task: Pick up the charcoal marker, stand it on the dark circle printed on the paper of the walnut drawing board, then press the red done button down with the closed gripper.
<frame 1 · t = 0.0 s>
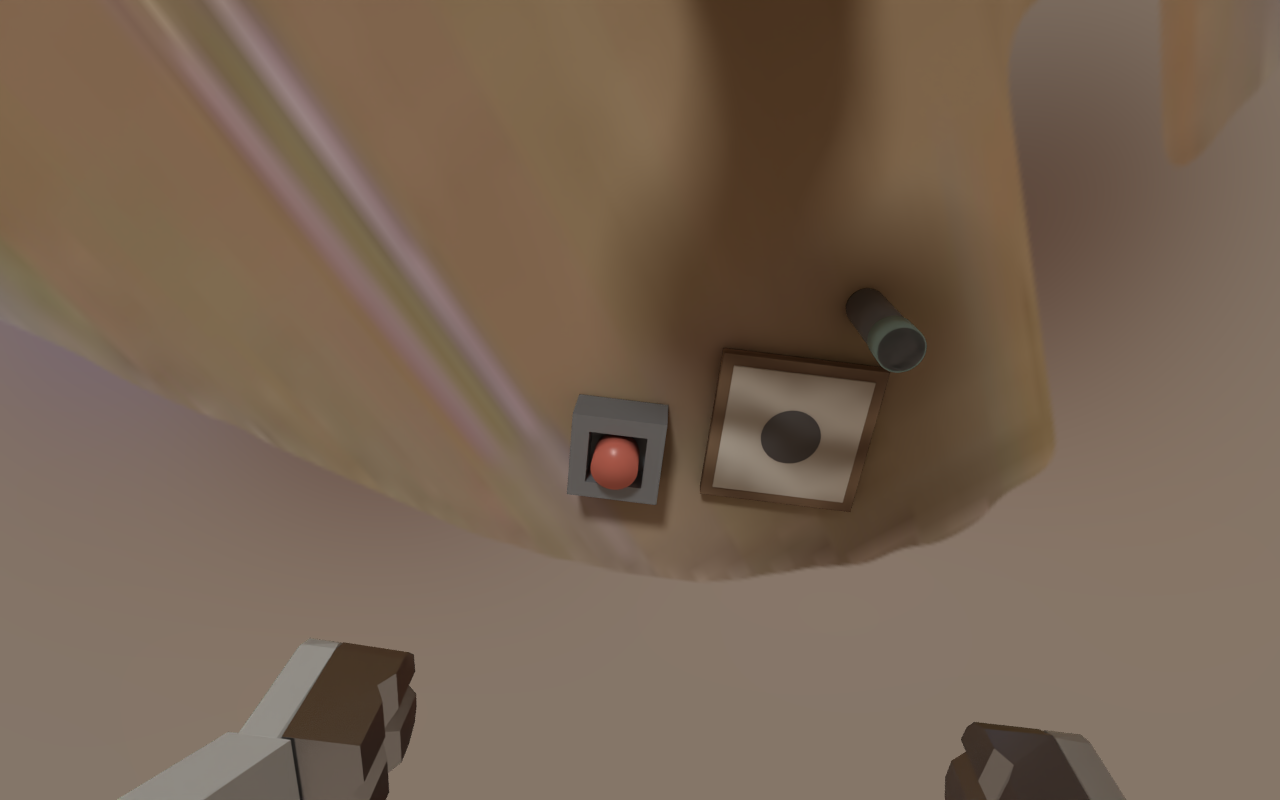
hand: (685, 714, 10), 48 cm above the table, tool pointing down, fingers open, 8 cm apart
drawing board: (788, 430, 61), on the table
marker: (865, 307, 56), on the table
done button: (615, 460, 59), point 4 cm above the table, slide at 0.0 cm
button housing: (619, 439, 62), on the table
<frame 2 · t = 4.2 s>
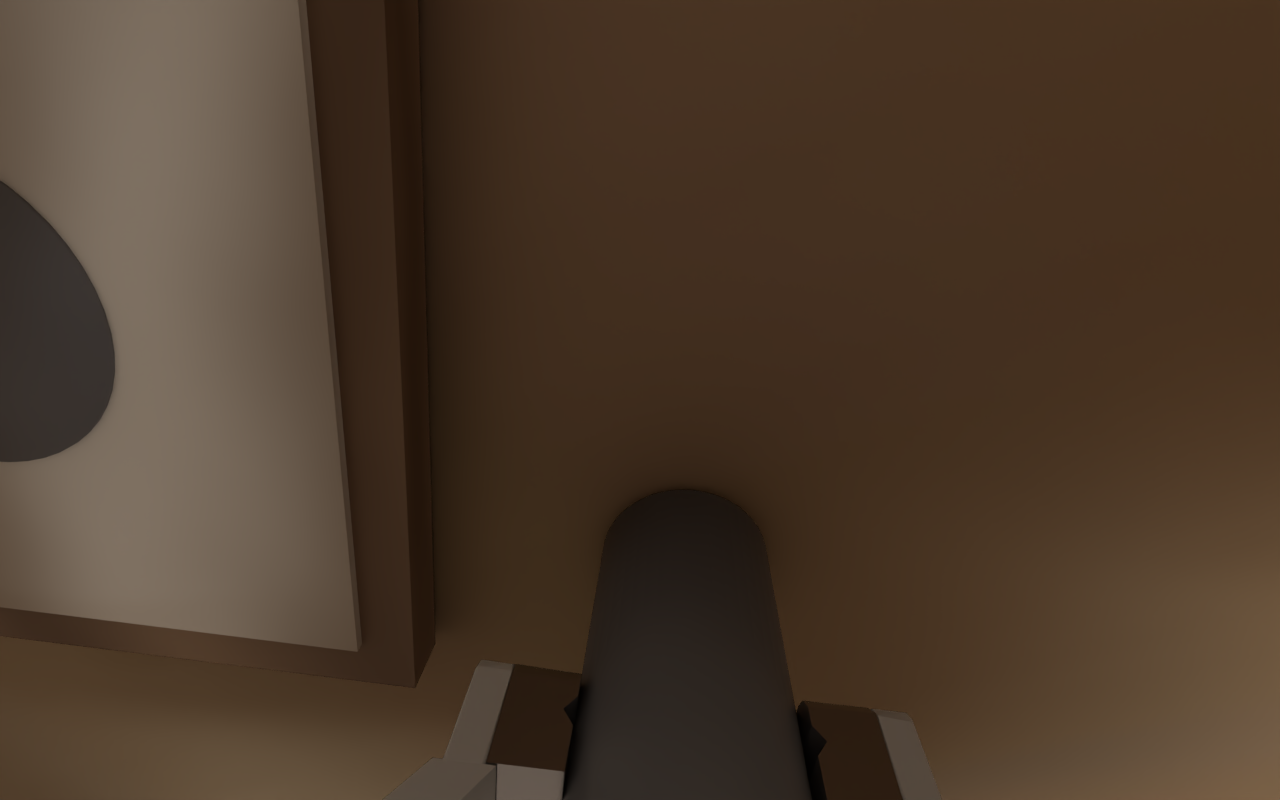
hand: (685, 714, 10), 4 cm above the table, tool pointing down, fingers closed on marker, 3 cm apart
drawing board: (24, 287, 12), on the table
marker: (684, 559, 13), on the table, touching gripper
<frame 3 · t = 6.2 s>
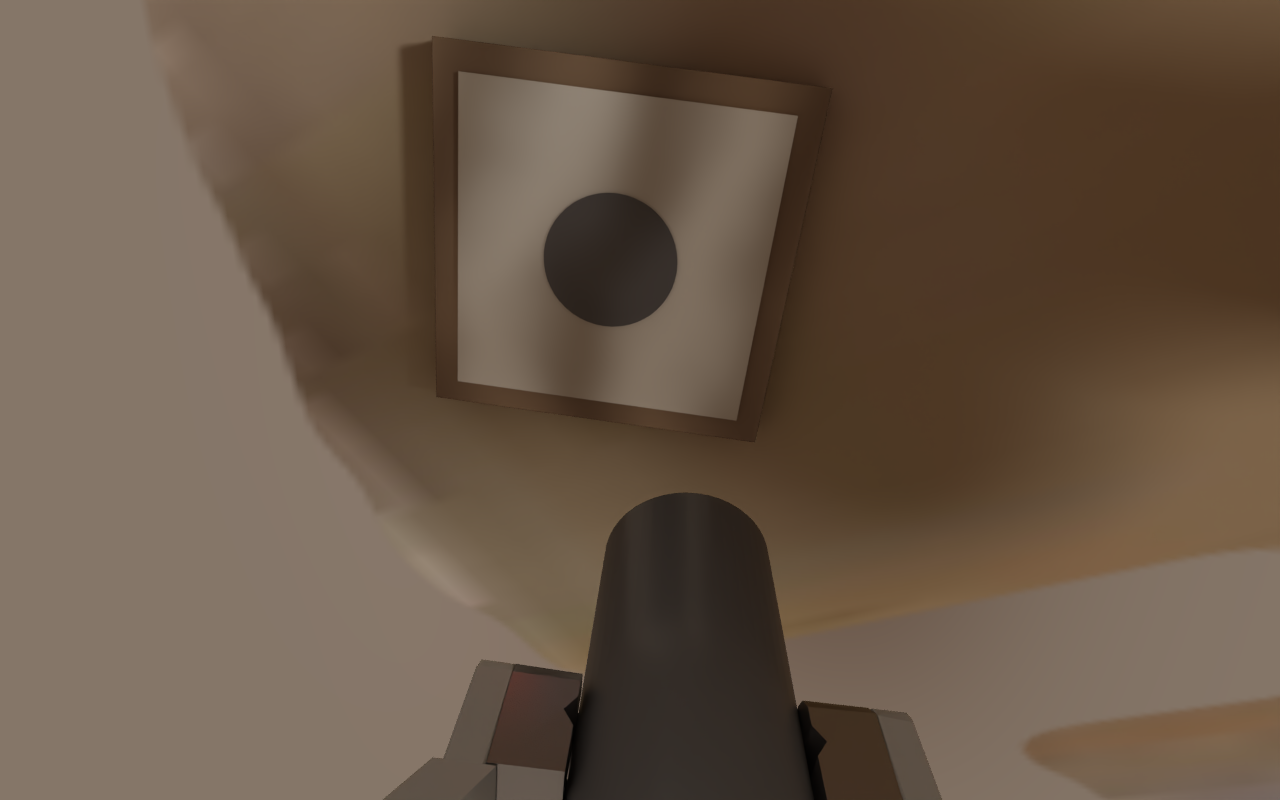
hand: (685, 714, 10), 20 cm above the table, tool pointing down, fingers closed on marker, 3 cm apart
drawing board: (614, 253, 28), on the table
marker: (686, 562, 13), point 17 cm above the table, touching gripper
when the fingers open (6 cm above the table, at t = 8.5 s): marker stays where it is, resting on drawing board.
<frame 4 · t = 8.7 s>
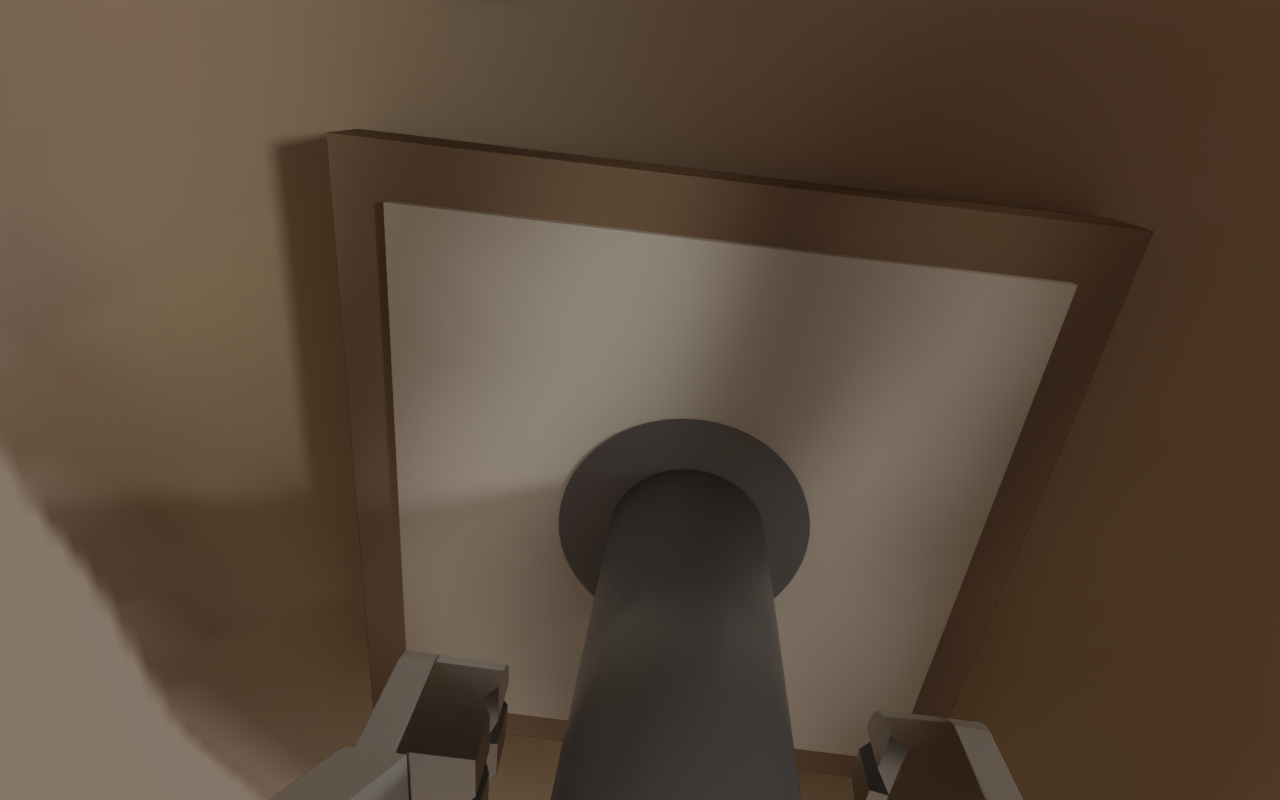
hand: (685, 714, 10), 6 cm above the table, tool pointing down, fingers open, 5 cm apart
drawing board: (682, 494, 15), on the table
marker: (686, 536, 14), point 2 cm above the table, touching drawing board
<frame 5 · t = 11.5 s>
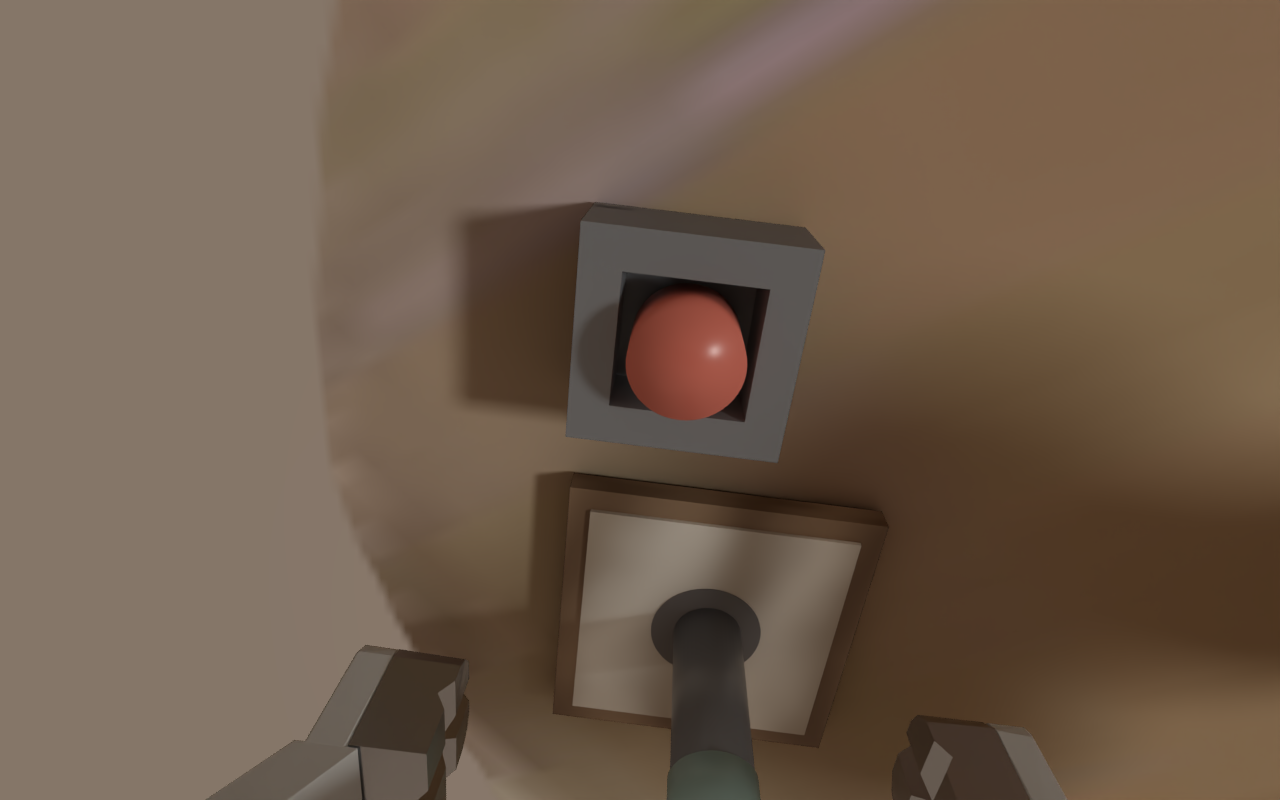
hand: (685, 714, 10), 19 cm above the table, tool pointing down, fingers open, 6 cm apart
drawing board: (704, 611, 34), on the table
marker: (707, 634, 32), point 1 cm above the table, touching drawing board
done button: (686, 350, 24), point 4 cm above the table, slide at 0.0 cm
button housing: (685, 315, 27), on the table
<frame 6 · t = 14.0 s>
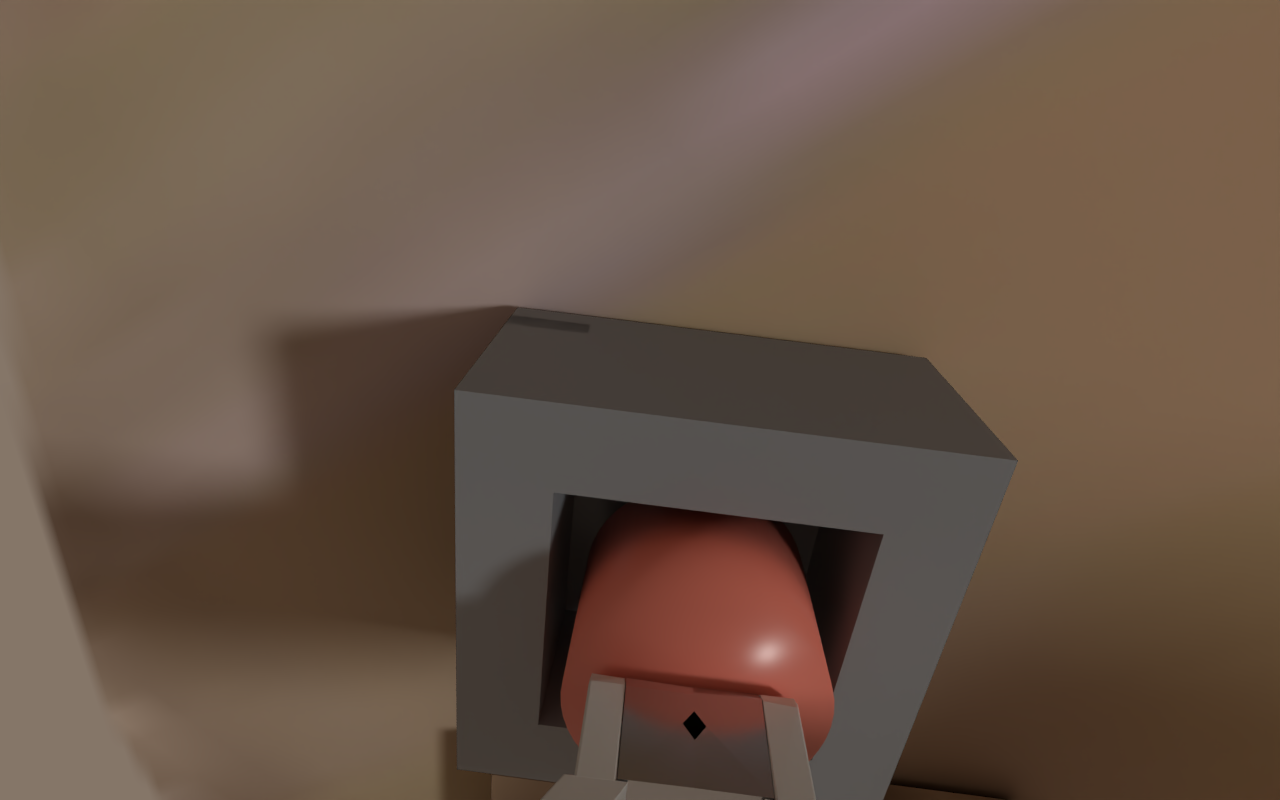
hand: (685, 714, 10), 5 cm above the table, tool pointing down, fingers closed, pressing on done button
done button: (694, 634, 11), point 4 cm above the table, slide at 0.1 cm, touching gripper
button housing: (692, 504, 15), on the table
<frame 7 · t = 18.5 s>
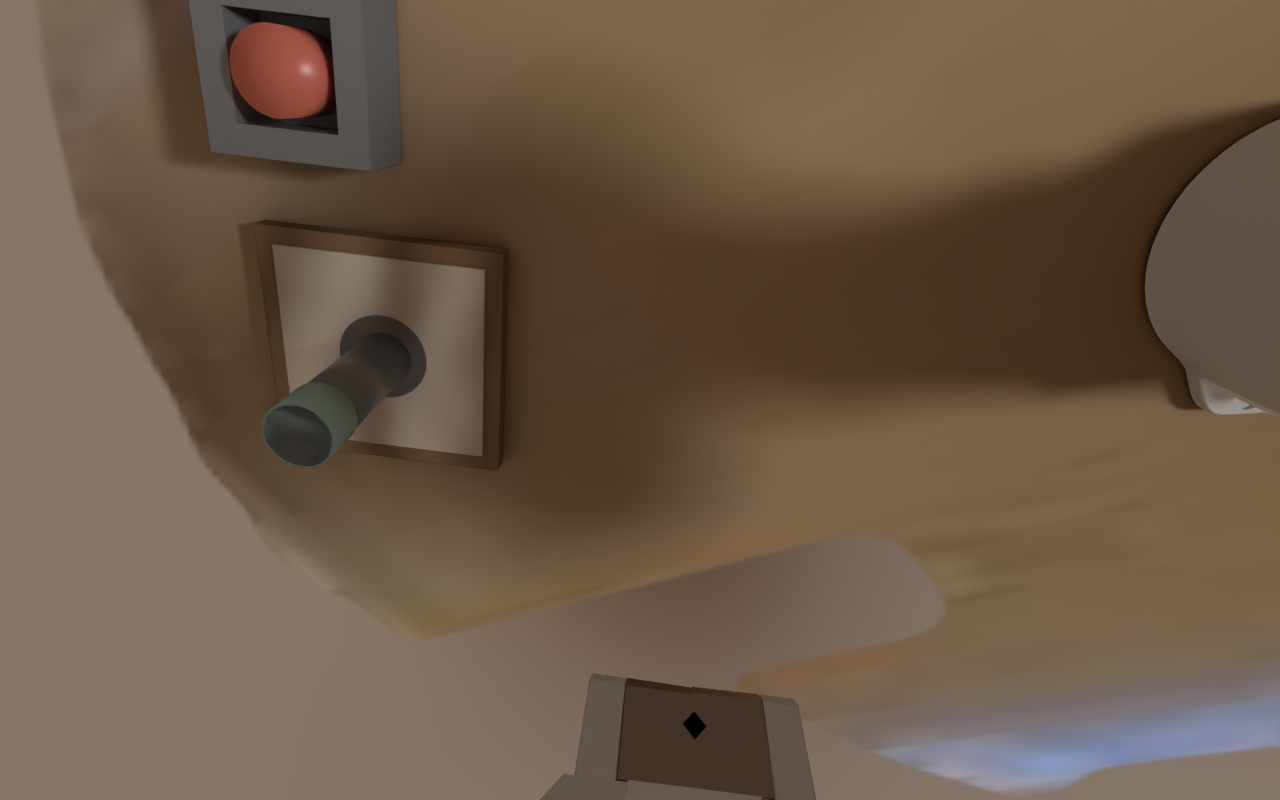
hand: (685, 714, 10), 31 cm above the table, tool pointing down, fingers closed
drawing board: (392, 348, 42), on the table
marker: (384, 358, 40), point 1 cm above the table, touching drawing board
done button: (290, 72, 33), point 3 cm above the table, slide at 0.7 cm
button housing: (322, 74, 35), on the table
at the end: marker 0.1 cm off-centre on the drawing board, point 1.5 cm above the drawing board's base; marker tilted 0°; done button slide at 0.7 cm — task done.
